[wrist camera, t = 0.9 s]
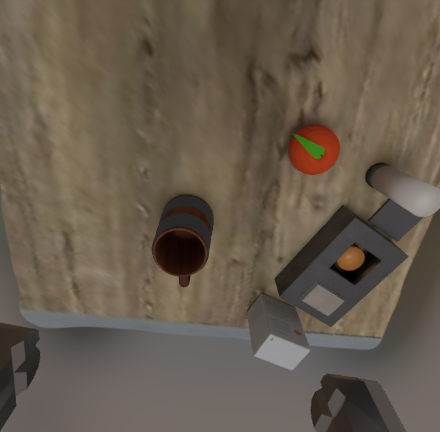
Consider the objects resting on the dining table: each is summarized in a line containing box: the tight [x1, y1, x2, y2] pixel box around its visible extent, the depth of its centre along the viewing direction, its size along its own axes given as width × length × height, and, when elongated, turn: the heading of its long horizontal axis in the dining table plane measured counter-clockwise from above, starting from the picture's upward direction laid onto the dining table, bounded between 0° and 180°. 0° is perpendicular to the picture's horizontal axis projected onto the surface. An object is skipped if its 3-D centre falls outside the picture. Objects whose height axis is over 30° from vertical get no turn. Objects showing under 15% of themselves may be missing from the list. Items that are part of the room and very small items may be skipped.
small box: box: [247, 293, 310, 370], centre depth 53 cm, size 8×6×10 cm
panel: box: [275, 206, 409, 327], centre depth 51 cm, size 18×12×6 cm, turn 145°
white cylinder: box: [365, 163, 440, 217], centre depth 42 cm, size 4×4×12 cm
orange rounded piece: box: [336, 244, 365, 271], centre depth 50 cm, size 4×4×2 cm
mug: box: [152, 196, 214, 287], centre depth 45 cm, size 9×12×12 cm
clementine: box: [289, 125, 340, 175], centre depth 42 cm, size 8×7×7 cm
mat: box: [368, 199, 423, 242], centre depth 50 cm, size 7×7×1 cm
